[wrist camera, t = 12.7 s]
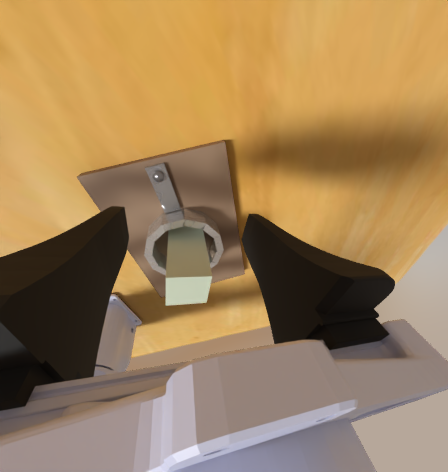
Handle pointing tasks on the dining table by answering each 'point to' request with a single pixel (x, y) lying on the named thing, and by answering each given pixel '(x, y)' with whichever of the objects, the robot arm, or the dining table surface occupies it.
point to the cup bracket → (173, 206)
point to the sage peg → (187, 267)
